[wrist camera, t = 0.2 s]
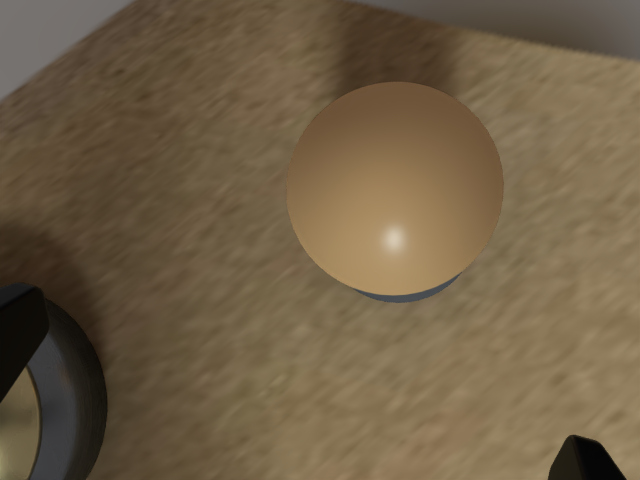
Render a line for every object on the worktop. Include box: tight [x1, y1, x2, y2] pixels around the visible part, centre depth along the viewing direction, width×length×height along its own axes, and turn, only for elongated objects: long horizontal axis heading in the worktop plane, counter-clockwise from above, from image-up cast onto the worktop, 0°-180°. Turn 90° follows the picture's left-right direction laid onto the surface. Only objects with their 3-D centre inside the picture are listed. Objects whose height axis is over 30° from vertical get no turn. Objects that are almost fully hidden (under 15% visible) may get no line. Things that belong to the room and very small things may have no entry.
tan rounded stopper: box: [286, 82, 504, 303], centre depth 18 cm, size 6×6×10 cm
